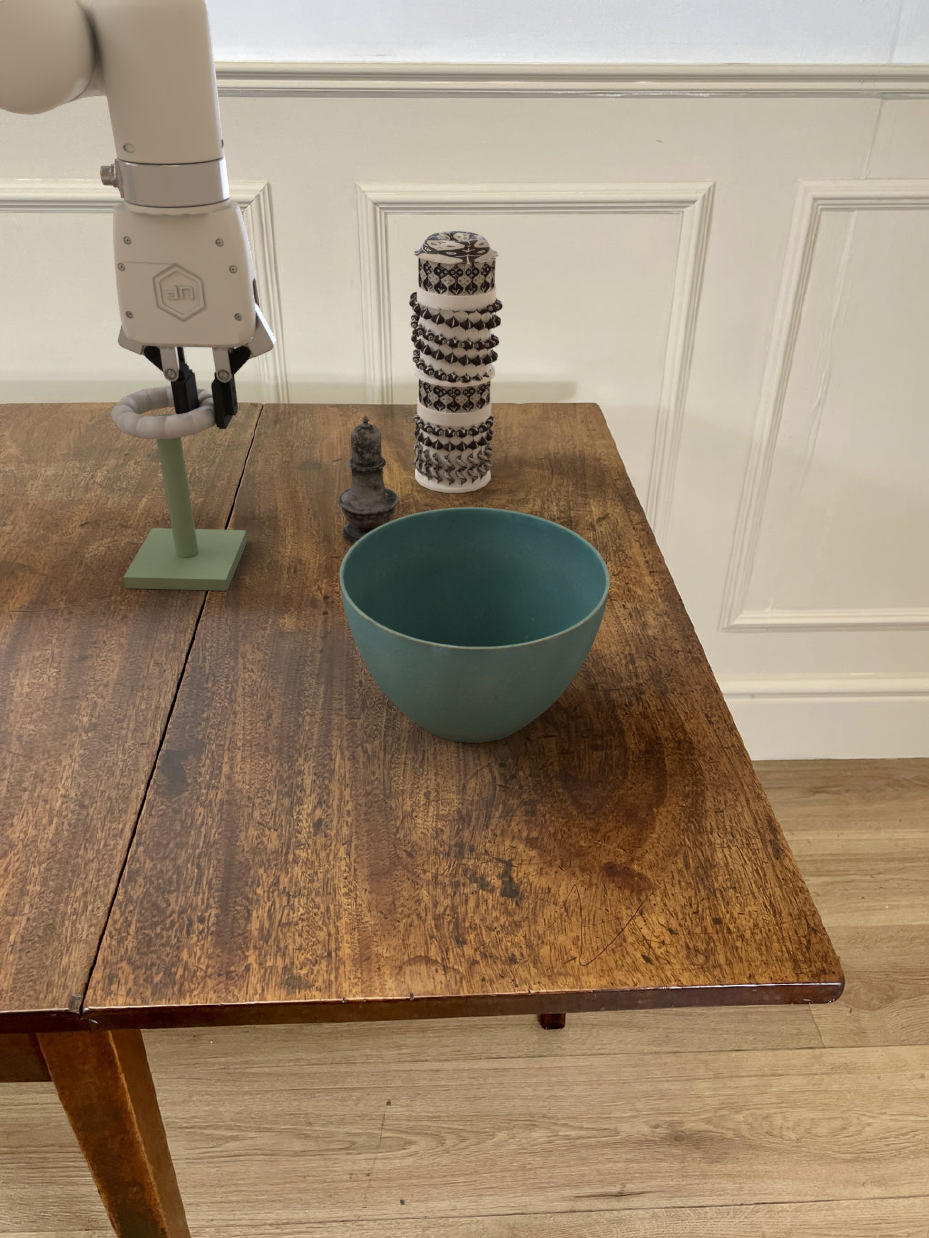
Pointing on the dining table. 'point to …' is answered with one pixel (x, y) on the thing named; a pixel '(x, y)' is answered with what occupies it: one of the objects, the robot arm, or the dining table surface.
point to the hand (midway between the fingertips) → (208, 420)
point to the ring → (162, 426)
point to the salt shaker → (366, 485)
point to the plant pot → (473, 616)
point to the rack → (184, 539)
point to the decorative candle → (454, 360)
